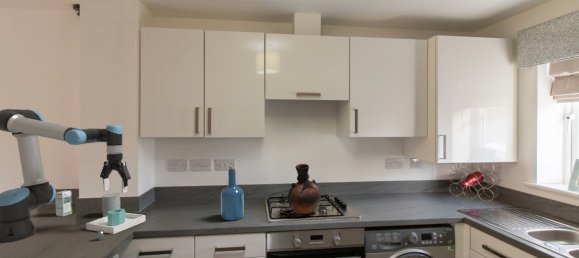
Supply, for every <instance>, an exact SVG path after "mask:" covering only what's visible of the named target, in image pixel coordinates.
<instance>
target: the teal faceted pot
mask: <svg viewBox="0 0 579 258" xmlns="http://www.w3.org/2000/svg"><path fill="white" fill-rule="evenodd" d="M125 213H126V210H125V208H120V209H114V210H111V211H108V213H107V215H108V226H117V225H120V224H123V223H125Z"/></svg>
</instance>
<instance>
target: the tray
mask: <svg viewBox="0 0 579 258" xmlns="http://www.w3.org/2000/svg"><path fill="white" fill-rule="evenodd" d="M144 222H146V215H145V214H138V213H129V212H125V223H123V224H120V225H117V226H108V216H106V217H103V216H102V217H101V218H98V219H94V220H92V221H88V222H86V223H85V230H88V231H94V232H98V231H101V230H103V234H105V233H106V234H111V235H112V234H113V235H115V234H117V233H120V232H122V231H125V230H127V229H129V228H132V227H135V226H136V225H139V224H141V223H144Z"/></svg>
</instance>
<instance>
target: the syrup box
mask: <svg viewBox="0 0 579 258" xmlns="http://www.w3.org/2000/svg"><path fill="white" fill-rule="evenodd" d="M54 200H55V214H56V216H57V217H65V216H68V215H71V214H73V203H72V202H73V201H72V191H71V190H61V191H56V196H55V198H54Z"/></svg>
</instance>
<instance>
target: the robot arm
mask: <svg viewBox="0 0 579 258" xmlns="http://www.w3.org/2000/svg"><path fill="white" fill-rule="evenodd" d="M0 131H3V132H6V133H7V132H8V133H11V135H12V137H14V138H16V142H17V148H18V153H19V160H20V165H21V170H22V171H21V173H22V177H23V183H22V184H21V185H20V187H17V188H13V189H7V190H4V191H2V192H0V243H9V242H16V241H19V240H23V239H26V238H29V237H31V236H34V234H36V227H35V225H34V223H33V221H32V219H31V211H33V210H35V209H36V210H37V209H39V208H43V207H45V206H47V205H50V204H51V203H52V202H53V201H54V200H55V196H56V193H57V190H56V188H55V186H53V184H50V180H48V179H46V178H45V171H44V167H43V165H44V164H43V160H42V154H41V149H40V141H39V137H42V138H47V139H50V140H51V139H53V140H57V141H62V142H66V143H68V144H69V145H71V146H80V145H84V144H85V145H86V144H94V143H95V144H96V143H106V161H103V167H102V168H101V172H100V174H99V177H100V178H101V179H102V184H103V192H105V191H109V190H110V178H109V176H110V175H111V173H112V172H113V171H116V172H117V174H118V175H119V176H120V178H121V179H122V180H121V193H122V194H124V193H128V186H129V182H128V181H129V180H131V179H132V177H131V175H130V172H129V170H128V167H127V166H128V165H127V162H126V161H123V162H122V160H124V159H123V158H124V157H123V155H124V154H123V126H122V125H121V124H109V125H108V124H107V125H106V126H105V128H93V127H92V128H77V127H72V126H67V125H61V124H58V123H52V122H48V121H45V119H44V116H43V115H42V114H41V113H40V112H38V111H37V110H33V109H20V108H19V109H17V108H16V109H15V108H14V109H12V108H6V109H1V110H0Z"/></svg>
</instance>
